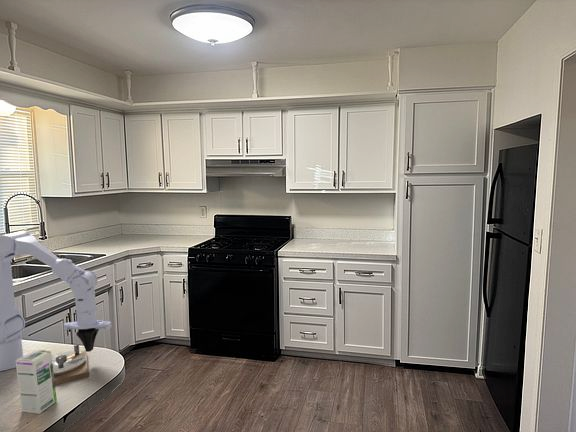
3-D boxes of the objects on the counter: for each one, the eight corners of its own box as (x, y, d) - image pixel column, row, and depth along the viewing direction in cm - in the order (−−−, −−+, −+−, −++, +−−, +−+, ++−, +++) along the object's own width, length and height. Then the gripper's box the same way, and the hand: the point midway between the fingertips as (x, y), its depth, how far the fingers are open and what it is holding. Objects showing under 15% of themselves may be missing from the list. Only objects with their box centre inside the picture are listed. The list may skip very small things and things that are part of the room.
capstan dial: (70, 352, 130) (69, 339, 129) (93, 361, 123) (92, 347, 123) (28, 369, 119) (27, 355, 118) (51, 380, 112) (50, 365, 112)
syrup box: (39, 414, 99) (34, 360, 97) (20, 412, 100) (14, 359, 98) (57, 401, 104) (52, 350, 103) (38, 399, 106) (33, 349, 104)
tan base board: (38, 365, 125) (37, 359, 125) (86, 354, 132) (86, 349, 132) (33, 390, 110) (33, 383, 110) (88, 376, 117) (87, 370, 117)
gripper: (114, 305, 127) (117, 344, 129) (71, 306, 128) (74, 345, 129) (104, 312, 120) (107, 354, 122) (58, 313, 121) (62, 355, 122)
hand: (89, 350), depth 125 cm, fingers closed
